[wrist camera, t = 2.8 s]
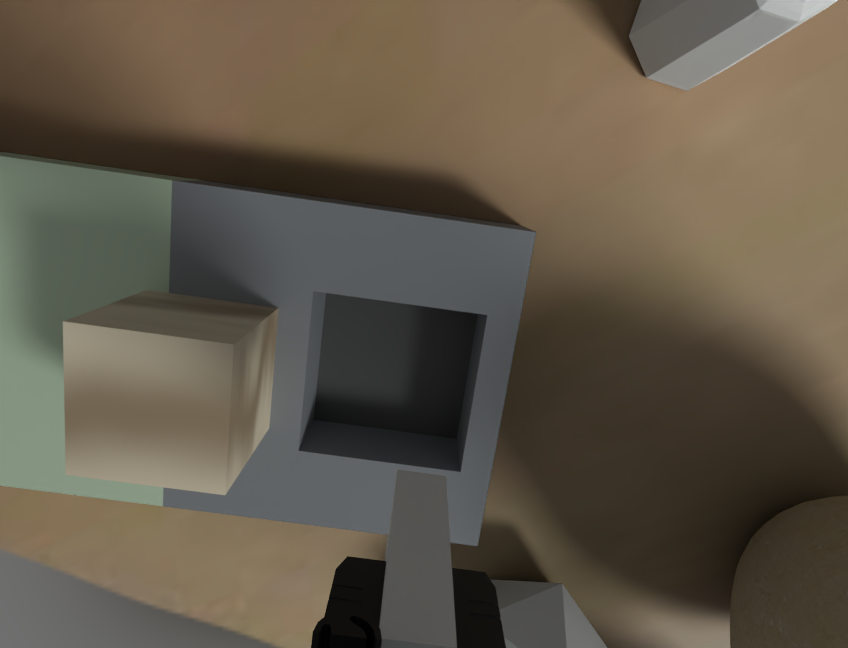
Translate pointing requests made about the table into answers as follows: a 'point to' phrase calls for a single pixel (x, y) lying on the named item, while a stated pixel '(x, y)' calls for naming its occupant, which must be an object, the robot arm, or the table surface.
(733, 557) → the table surface
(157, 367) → the birch block
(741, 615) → the vase
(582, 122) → the table surface
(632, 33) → the pepper shaker
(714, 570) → the table surface
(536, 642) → the die
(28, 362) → the board
